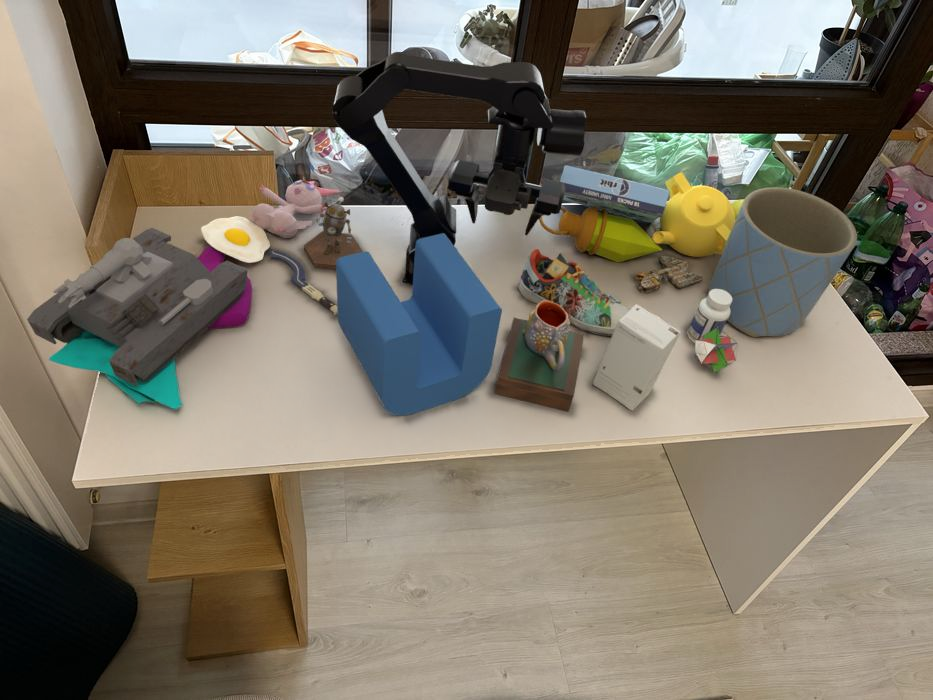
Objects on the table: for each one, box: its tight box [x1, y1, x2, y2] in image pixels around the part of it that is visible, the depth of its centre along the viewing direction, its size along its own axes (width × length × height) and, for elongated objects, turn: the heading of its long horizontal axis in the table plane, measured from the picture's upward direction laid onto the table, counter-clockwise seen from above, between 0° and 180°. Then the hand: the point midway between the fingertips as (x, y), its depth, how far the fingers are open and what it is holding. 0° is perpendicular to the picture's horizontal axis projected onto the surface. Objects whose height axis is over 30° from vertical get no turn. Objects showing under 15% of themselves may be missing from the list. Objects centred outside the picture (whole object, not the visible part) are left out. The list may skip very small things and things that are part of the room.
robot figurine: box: [303, 196, 364, 270], centre depth 131 cm, size 11×9×12 cm
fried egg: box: [200, 215, 271, 264], centre depth 132 cm, size 12×12×1 cm
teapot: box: [652, 171, 735, 258], centre depth 143 cm, size 20×18×11 cm
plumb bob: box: [538, 206, 663, 263], centre depth 141 cm, size 9×9×25 cm
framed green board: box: [493, 317, 585, 413], centre depth 119 cm, size 12×14×4 cm
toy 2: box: [248, 179, 343, 239], centre depth 140 cm, size 15×7×20 cm
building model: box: [634, 255, 704, 294], centre depth 140 cm, size 15×9×2 cm, turn 128°
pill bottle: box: [686, 289, 732, 344], centre depth 127 cm, size 5×5×10 cm
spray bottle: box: [196, 233, 253, 330], centre depth 126 cm, size 3×11×24 cm
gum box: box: [559, 164, 670, 223], centre depth 143 cm, size 20×5×23 cm
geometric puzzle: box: [693, 327, 739, 374], centre depth 124 cm, size 7×7×8 cm
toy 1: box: [26, 227, 249, 386], centre depth 111 cm, size 25×20×15 cm
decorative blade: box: [268, 248, 338, 316], centre depth 130 cm, size 21×1×5 cm
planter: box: [707, 187, 858, 338], centre depth 130 cm, size 19×19×20 cm
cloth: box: [48, 330, 183, 410], centre depth 112 cm, size 26×14×2 cm, turn 66°
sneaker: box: [517, 248, 630, 337], centre depth 128 cm, size 8×21×10 cm, turn 60°
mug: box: [523, 300, 571, 371], centre depth 115 cm, size 12×7×7 cm, turn 7°
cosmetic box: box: [592, 303, 682, 411], centre depth 115 cm, size 8×6×15 cm
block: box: [335, 233, 503, 416], centre depth 112 cm, size 18×18×18 cm
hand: (500, 228), depth 127 cm, fingers open, 9 cm apart
